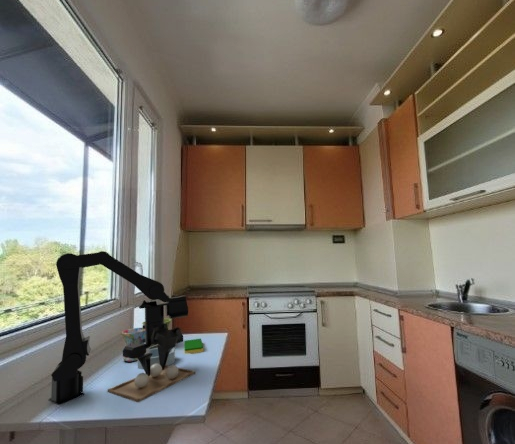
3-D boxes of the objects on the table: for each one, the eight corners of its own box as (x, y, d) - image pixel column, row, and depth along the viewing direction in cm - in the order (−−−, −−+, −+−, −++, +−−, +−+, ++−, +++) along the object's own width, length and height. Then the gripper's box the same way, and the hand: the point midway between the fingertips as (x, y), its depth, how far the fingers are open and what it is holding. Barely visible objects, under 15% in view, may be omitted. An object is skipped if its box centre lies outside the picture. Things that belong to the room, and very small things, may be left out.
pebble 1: (139, 391, 79) (139, 376, 79) (131, 389, 81) (131, 374, 81) (151, 385, 82) (151, 371, 82) (143, 383, 84) (143, 370, 84)
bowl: (153, 372, 93) (153, 360, 94) (131, 367, 100) (131, 355, 100) (181, 360, 103) (181, 349, 104) (160, 356, 110) (159, 345, 110)
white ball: (154, 379, 86) (154, 366, 87) (146, 377, 88) (146, 365, 89) (164, 375, 89) (164, 362, 90) (157, 373, 91) (156, 360, 92)
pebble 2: (171, 382, 83) (171, 368, 84) (163, 380, 85) (162, 366, 86) (181, 377, 87) (181, 364, 87) (173, 375, 89) (172, 362, 89)
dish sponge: (184, 355, 110) (184, 349, 110) (184, 346, 123) (184, 340, 124) (203, 353, 112) (203, 346, 112) (201, 344, 125) (201, 338, 125)
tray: (137, 403, 72) (137, 399, 73) (107, 393, 80) (107, 389, 80) (195, 374, 89) (195, 371, 89) (165, 368, 97) (165, 365, 97)
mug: (145, 361, 105) (144, 331, 107) (118, 364, 104) (118, 334, 105) (152, 351, 117) (151, 325, 118) (128, 354, 115) (127, 327, 117)
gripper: (144, 329, 79) (145, 389, 77) (194, 316, 94) (195, 366, 92) (121, 327, 85) (121, 383, 83) (171, 315, 100) (172, 361, 98)
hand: (155, 372), depth 89 cm, fingers open, 5 cm apart
